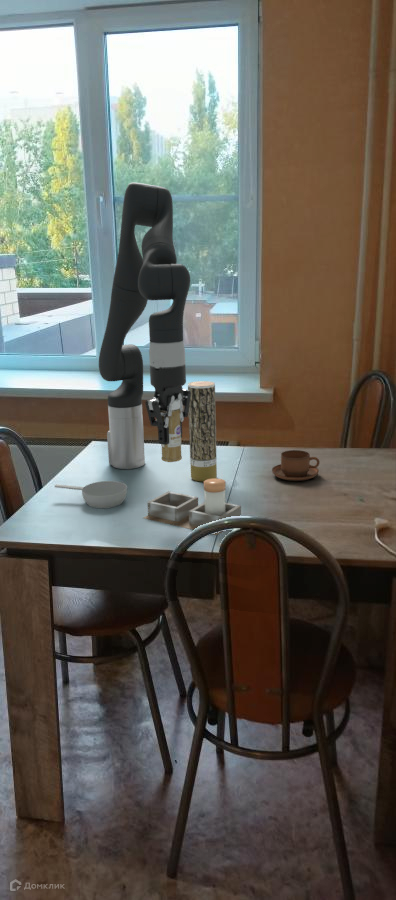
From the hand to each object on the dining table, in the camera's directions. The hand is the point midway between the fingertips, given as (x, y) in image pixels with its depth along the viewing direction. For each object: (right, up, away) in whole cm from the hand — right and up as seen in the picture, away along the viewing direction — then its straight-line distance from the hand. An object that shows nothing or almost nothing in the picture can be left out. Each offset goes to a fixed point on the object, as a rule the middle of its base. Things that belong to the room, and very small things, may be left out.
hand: (170, 440), depth 150 cm
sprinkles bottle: (0, -4, +1) cm, 4 cm away
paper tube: (+7, -10, +30) cm, 33 cm away
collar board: (+5, -18, +2) cm, 19 cm away
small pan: (-20, -15, +17) cm, 30 cm away
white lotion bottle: (+10, -17, -1) cm, 20 cm away
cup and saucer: (+31, -9, +30) cm, 44 cm away
